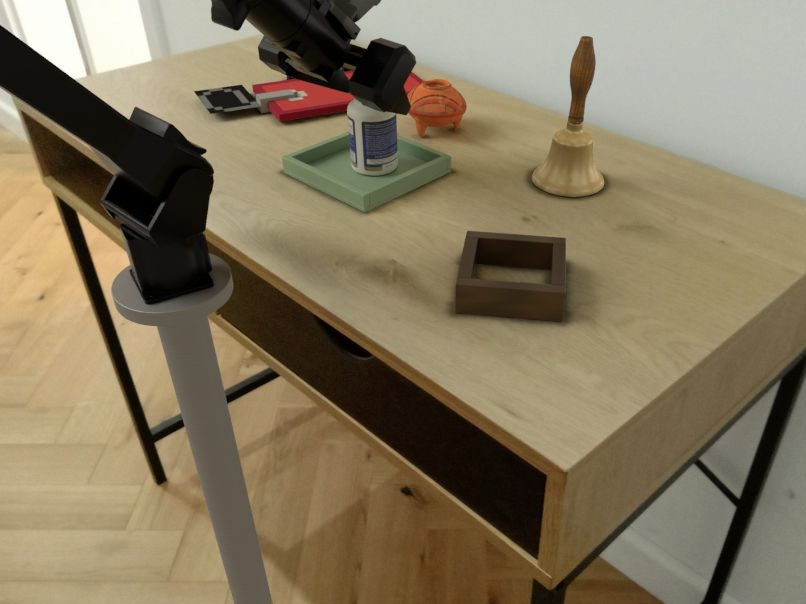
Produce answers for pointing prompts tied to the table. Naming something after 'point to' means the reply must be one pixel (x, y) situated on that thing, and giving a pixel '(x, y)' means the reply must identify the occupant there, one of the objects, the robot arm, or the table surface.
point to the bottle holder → (507, 294)
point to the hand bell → (573, 137)
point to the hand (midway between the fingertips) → (378, 99)
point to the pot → (436, 105)
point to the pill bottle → (372, 139)
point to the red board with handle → (286, 98)
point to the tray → (337, 178)
